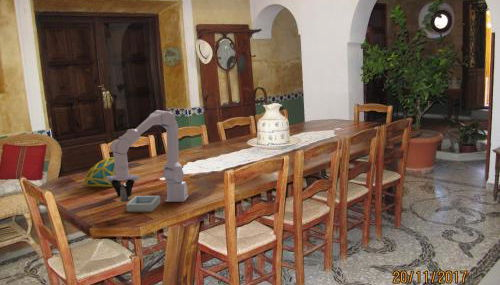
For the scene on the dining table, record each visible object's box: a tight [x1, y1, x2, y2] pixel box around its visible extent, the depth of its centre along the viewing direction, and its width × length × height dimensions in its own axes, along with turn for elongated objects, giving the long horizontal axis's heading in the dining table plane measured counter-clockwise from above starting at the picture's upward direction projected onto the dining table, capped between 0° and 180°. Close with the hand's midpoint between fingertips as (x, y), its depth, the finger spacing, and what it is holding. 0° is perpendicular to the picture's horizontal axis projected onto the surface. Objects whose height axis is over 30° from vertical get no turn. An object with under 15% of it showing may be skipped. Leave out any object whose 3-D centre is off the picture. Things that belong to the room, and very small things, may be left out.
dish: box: [125, 195, 161, 213], centre depth 217 cm, size 12×12×4 cm
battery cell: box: [119, 183, 131, 203], centre depth 207 cm, size 4×4×8 cm
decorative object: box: [84, 156, 116, 188], centre depth 253 cm, size 23×23×15 cm
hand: (124, 196), depth 208 cm, fingers closed on battery cell, 4 cm apart
